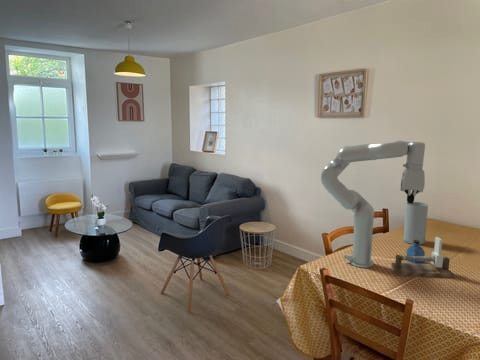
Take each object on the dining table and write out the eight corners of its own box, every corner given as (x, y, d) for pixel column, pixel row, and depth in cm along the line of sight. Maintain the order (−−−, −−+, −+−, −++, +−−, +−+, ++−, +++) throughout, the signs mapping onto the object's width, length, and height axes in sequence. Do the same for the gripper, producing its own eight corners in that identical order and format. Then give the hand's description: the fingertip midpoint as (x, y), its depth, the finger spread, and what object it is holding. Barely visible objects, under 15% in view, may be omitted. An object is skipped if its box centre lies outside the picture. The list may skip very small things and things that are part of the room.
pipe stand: (398, 275, 178) (399, 259, 177) (391, 266, 190) (392, 251, 189) (453, 277, 175) (455, 261, 174) (442, 268, 187) (443, 253, 186)
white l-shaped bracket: (435, 267, 178) (438, 240, 176) (430, 262, 184) (433, 236, 182) (442, 267, 178) (444, 240, 176) (436, 262, 184) (439, 236, 182)
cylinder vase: (428, 245, 223) (431, 206, 219) (408, 244, 223) (411, 206, 219) (419, 238, 235) (422, 201, 231) (400, 238, 236) (402, 201, 232)
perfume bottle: (414, 264, 192) (416, 243, 191) (406, 260, 198) (407, 239, 196) (423, 263, 194) (425, 242, 192) (415, 259, 200) (417, 238, 198)
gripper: (401, 167, 174) (397, 203, 177) (433, 168, 172) (428, 205, 175) (396, 165, 181) (392, 200, 184) (426, 166, 180) (422, 202, 183)
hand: (410, 202), depth 180 cm, fingers closed
